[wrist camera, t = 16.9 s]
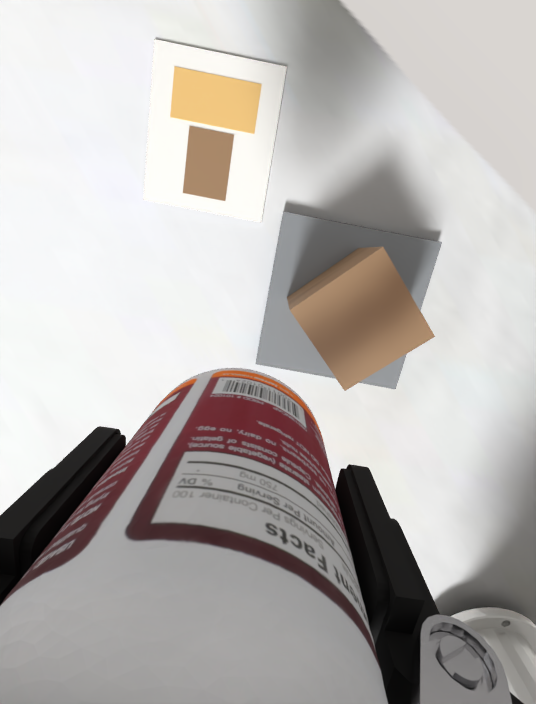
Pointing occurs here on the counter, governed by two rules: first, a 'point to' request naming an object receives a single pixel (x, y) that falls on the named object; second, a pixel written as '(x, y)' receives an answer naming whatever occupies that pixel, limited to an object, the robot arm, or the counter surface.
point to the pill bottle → (199, 567)
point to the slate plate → (312, 260)
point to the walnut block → (359, 315)
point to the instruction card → (211, 130)
